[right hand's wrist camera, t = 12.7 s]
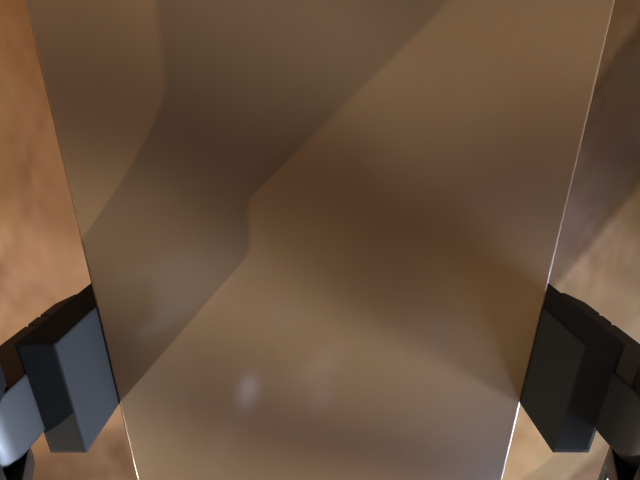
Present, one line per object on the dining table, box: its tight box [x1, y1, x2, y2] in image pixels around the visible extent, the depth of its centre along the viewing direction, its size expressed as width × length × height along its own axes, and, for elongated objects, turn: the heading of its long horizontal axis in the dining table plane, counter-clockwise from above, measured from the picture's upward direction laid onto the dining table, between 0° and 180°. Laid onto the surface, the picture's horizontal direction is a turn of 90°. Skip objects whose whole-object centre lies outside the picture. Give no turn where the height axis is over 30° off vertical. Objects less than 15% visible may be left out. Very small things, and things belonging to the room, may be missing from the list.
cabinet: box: [25, 0, 615, 480], centre depth 11 cm, size 19×10×10 cm, turn 0°
